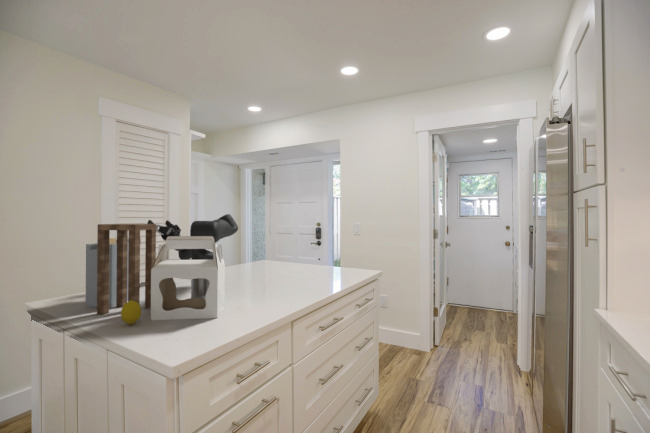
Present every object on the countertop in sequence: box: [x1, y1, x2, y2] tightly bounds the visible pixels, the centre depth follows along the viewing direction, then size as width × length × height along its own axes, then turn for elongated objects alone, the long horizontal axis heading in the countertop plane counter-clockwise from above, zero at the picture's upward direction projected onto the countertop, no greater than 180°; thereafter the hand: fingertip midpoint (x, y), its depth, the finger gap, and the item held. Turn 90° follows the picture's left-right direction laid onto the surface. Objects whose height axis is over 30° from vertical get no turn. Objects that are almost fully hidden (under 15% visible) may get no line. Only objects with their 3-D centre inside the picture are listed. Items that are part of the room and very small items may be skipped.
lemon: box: [120, 300, 142, 326], centre depth 101 cm, size 6×6×8 cm
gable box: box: [150, 235, 226, 321], centre depth 113 cm, size 22×13×28 cm, turn 97°
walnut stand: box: [96, 223, 157, 316], centre depth 117 cm, size 14×12×32 cm
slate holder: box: [85, 242, 129, 308], centre depth 127 cm, size 10×14×24 cm
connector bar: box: [109, 237, 142, 246], centre depth 133 cm, size 4×20×4 cm, turn 176°
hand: (157, 221), depth 149 cm, fingers open, 8 cm apart
